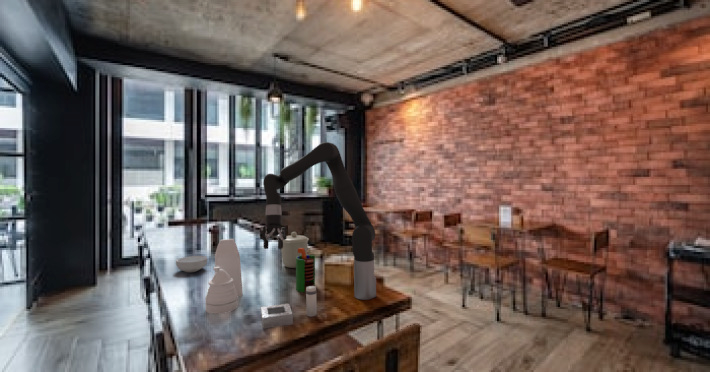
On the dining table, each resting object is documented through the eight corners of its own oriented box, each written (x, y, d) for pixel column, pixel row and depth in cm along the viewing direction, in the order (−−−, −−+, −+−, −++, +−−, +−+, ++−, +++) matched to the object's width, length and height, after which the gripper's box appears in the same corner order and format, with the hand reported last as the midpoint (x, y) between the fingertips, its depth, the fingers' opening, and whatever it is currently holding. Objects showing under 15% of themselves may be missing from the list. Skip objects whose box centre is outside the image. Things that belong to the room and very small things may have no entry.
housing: (289, 313, 142) (288, 303, 142) (292, 324, 131) (292, 313, 131) (261, 316, 139) (261, 307, 138) (262, 328, 128) (262, 317, 128)
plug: (315, 311, 143) (315, 285, 142) (317, 315, 139) (317, 288, 138) (305, 313, 142) (305, 286, 141) (307, 317, 138) (306, 290, 137)
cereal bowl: (213, 269, 208) (213, 257, 208) (187, 276, 194) (186, 263, 194) (196, 265, 218) (196, 254, 217) (170, 271, 203) (170, 260, 203)
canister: (306, 269, 205) (306, 234, 204) (276, 270, 205) (275, 234, 204) (311, 261, 223) (310, 229, 222) (283, 262, 223) (282, 229, 222)
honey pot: (218, 316, 140) (217, 272, 139) (199, 309, 146) (197, 267, 146) (244, 305, 150) (243, 264, 150) (224, 300, 157) (223, 260, 157)
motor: (310, 292, 166) (309, 251, 165) (292, 291, 168) (292, 250, 167) (317, 285, 176) (316, 246, 175) (300, 284, 177) (299, 246, 177)
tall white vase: (215, 299, 159) (213, 242, 157) (214, 291, 169) (213, 238, 168) (242, 295, 163) (241, 240, 162) (240, 287, 174) (239, 236, 173)
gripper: (266, 212, 160) (266, 248, 156) (289, 215, 171) (290, 248, 168) (256, 214, 164) (256, 249, 161) (279, 216, 175) (279, 249, 172)
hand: (273, 248), depth 164 cm, fingers open, 8 cm apart
